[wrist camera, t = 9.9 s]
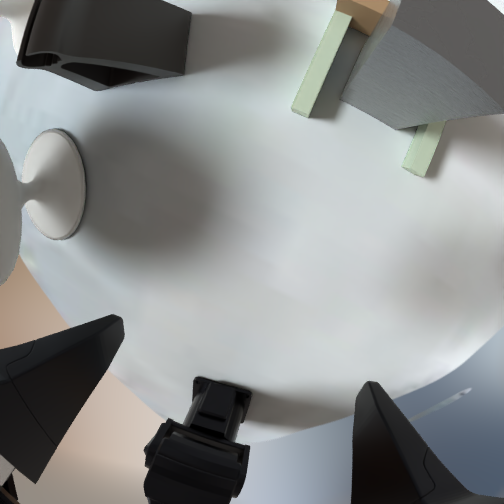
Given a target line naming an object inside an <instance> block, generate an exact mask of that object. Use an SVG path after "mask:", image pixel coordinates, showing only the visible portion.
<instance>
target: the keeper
mask: <svg viewBox="0 0 504 504" xmlns="http://www.w3.org/2000/svg"><path fill="white" fill-rule="evenodd" d="M389 2H390V1H388V0H337V5H336V10H335V12H334V14H333V16H332V18H331V20H330V23H329V25H328V27H327V29H326V31H325V33H324V35H323V38H322V40H321V42H320V44H319V46H318V48H317V51H316V53H315V55H314V57H313V59H312V61H311V64H310V66H309V68H308V70H307V72H306V75H305V77H304V79H303V81H302V84H301V86H300V88H299V90H298V93H297V95H296V97H295V99H294V102H293V104H292V106H291V109H292V112H295V113H297V114H300V115H302V116H304V117H307V118H308V117H309V115H310V113H311V110H312V108H313V106H314V104H315V101H316V99H317V97H318V95H319V92H320V90H321V88H322V85H323V83H324V81H325V79H326V76H327V74H328V72H329V70H330V67H331V65H332V63H333V61H334V58H335V56H336V54H337V52H338V49H339V47H340V45H341V43H342V40H343V38H344V36H345V34H346V31H347V29H348V27H350V28H353V29H355V30H357V31H359V32H362V33H364V34H366V35H368V36H370V35H371V33H372V31H373V30H374V28H375V26H376V24H377V23H378V21H379V19H380V17H381V16H382V14H383V12H384V11H385V9H386V7H387V5H388V4H389ZM445 123H446V121H440V122H434V123H428V124H422V125H419V126H418V128H417V131H416V133H415V136H414V138H413V141H412V143H411V146H410V148H409V150H408V153H407V155H406V157H405V160H404V162H403V164H402V166H401V167H403V168H404V169H406V170H407V171H409V172H411V173H412V174H414V175H417V176H421V177H424V176H425V173H426V171H427V169H428V166H429V164H430V162H431V159H432V157H433V155H434V152H435V150H436V147H437V145H438V142H439V139H440V137H441V134H442V131H443V129H444V126H445Z"/></svg>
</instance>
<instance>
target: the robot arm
mask: <svg viewBox="0 0 504 504" xmlns="http://www.w3.org/2000/svg"><path fill="white" fill-rule="evenodd" d="M124 335H125V333H124V325H123V319H122V318H121V317H119V316H117V315H114V314H111V315H108V316H105V317H102V318H99V319H96V320H93V321H91V322H88V323H85V324H82V325H79V326H76V327H73V328H70V329H67V330H64V331H61V332H58V333H55V334H52V335H48V336H45V337H43V338H39V339H37V340H33V341H30V342H27V343H23V344H20V345H17V346H13V347H9V348H4V349H0V504H20V503H19V502H18V501H17V500H18V497H17V493H16V489H15V484H14V480H13V475H12V472H13V471H14V469H15V468H16V469H17V470H18V471H19V472H21V473H22V474H23V475H25V476H26V477H27V478H28V479H29V480H31V481H32V482H33V483H35V484H36V483H37V481H38V480H39V478H40V476H41V474H42V473H43V471H44V469H45V467H46V466H47V464H48V462H49V460H50V459H51V457H52V455H53V454H54V452H55V450H56V449H57V447H58V445H59V443H60V442H61V440H62V438H63V437H64V435H65V434H66V432H67V430H68V429H69V427H70V425H71V424H72V422H73V421H74V419H75V418H76V416H77V415H78V413H79V411H80V410H81V408H82V407H83V405H84V404H85V402H86V401H87V399H88V398H89V396H90V395H91V393H92V391H93V390H94V389H95V387H96V386H97V384H98V383H99V381H100V380H101V378H102V377H103V375H104V374H105V372H106V370H107V369H108V367H109V366H110V364H111V362H112V360H113V358H114V356H115V354H116V353H117V351H118V349H119V347H120V345H121V343H122V342H123V340H124ZM251 397H252V393H251V392H250V391H247V390H243V389H239V388H235V387H231V386H227V385H224V384H220V383H217V382H213V381H210V380H207V379H203V378H200V377H195V379H194V381H193V398H192V405H191V407H190V409H189V412H188V414H187V416H186V418H185V420H184V423H183V424H180V423H178V422H175V421H173V420H172V419H170V418H168V420H167V421H166V423H162V424H161V425H160V427H159V429H158V431H157V433H156V435H155V436H154V437H153V438H152V439H151V441H150V442H149V443H148V444H147V445H146V446H145V448H144V452H145V455H146V459H145V460H146V461H145V467H147V468H149V471H148V473H147V476H146V478H145V481H144V492H145V496H146V497H147V499H148V502H149V504H229V503H230V501H231V498H232V497H233V498H237V497H238V495H239V494H240V492H241V489H242V487H243V485H244V482H245V478H246V473H247V467H248V460H249V452H250V446H249V445H242V444H239V443H235V440H236V437H237V433H238V430H239V426H240V423H243V422H244V420H245V416H246V413H247V410H248V407H249V404H250V401H251ZM352 442H353V457H352V459H353V462H352V494H351V504H504V498H498V497H491V496H484V495H478V494H475V493H472V492H470V491H469V490H467V489H466V488H465V487H464V486H463V485H462V484H461V483H460V482H459V481H458V480H457V479H456V478H455V477H454V476H453V475H452V473H450V471H449V470H448V469H447V468H446V467H445V466H444V465H443V464H442V463H441V461H440V460H439V459H438V458H437V456H436V455H435V454H434V453H433V452H432V450H431V449H430V448H429V447H428V445H427V444H426V442H425V441H424V440H423V439H422V437H421V436H420V435H419V434H418V432H417V431H416V430H415V428H414V427H413V426H412V425H411V423H410V422H409V421H408V419H407V418H406V417H405V416H404V414H403V413H402V412H401V411H400V409H399V408H398V407H397V406H396V404H395V403H394V402H393V400H392V399H391V398H390V397H389V395H388V394H387V393H386V392H385V390H384V389H383V388H382V387H381V385H380V384H379V383H378V382H374V381H367V382H366V383H365V384H364V386H363V387H362V389H361V390H360V392H359V393H358V395H357V397H356V402H355V415H354V426H353V440H352Z"/></svg>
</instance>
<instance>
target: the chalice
mask: <svg viewBox="0 0 504 504" xmlns="http://www.w3.org/2000/svg"><path fill="white" fill-rule="evenodd" d="M85 192H86V184H85V173H84V168H83V164H82V160H81V157H80V154H79V152H78V149H77V147H76V145H75V144H74V142H73V141H72V139H71V138H70V137H69V136H68V135H67V134H66V133H65V132H63V131H60V130H58V129H48V130H46V131H44V132H42V133H41V134H40V135H39V136H37V137H36V139H35V140H34V141H33V143H32V144H31V146H30V148H29V150H28V152H27V155H26V158H25V161H24V165H23V172H22V182H20V181H18V180H17V176H16V173H15V169H14V166H13V162H12V160H11V158H10V155H9V153H8V151H7V149H6V147H5V145H4V143H3V142H2V141H1V139H0V286H1V285H2V284H4V283H5V282H6V280H7V279H8V277H9V276H10V274H11V273H12V271H13V269H14V267H15V264H16V261H17V258H18V255H19V249H20V242H21V231H22V213H21V209H22V207H23V206H24V204H25V206H26V209H27V212H28V214H29V216H30V218H31V220H32V222H33V223H34V225H35V226H36V227H37V229H38V230H39V231H40V232H41V233H42V234H44V235H45V236H46V237H48V238H50V239H53V240H63V239H66V238H68V237H69V236H70V235H71V234H73V233H74V231H75V230H76V228H77V227H78V225H79V223H80V220H81V217H82V214H83V210H84V204H85Z"/></svg>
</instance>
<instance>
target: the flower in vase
mask: <svg viewBox="0 0 504 504" xmlns="http://www.w3.org/2000/svg"><path fill="white" fill-rule="evenodd" d="M34 1H35V0H0V17H3V18H6V19H8V20H9V21H10V23H11V27H12V38H13V45H14V48H15V51H16V54H17V55H18V53H19V49H20V45H21V41H22V37H23V34H24V30H25V27H26V24H27V21H28V18H29V15H30V12H31V9H32V6H33V3H34Z"/></svg>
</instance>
